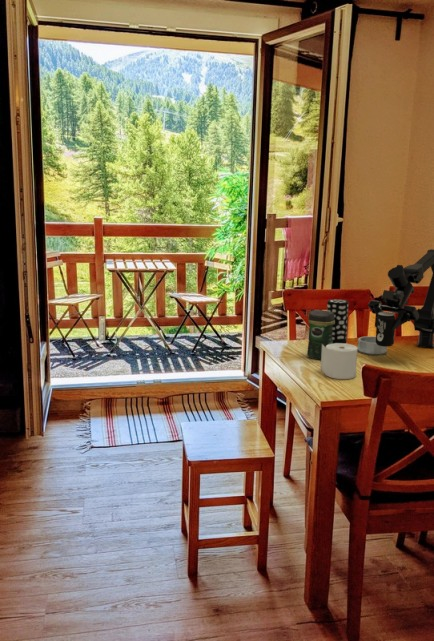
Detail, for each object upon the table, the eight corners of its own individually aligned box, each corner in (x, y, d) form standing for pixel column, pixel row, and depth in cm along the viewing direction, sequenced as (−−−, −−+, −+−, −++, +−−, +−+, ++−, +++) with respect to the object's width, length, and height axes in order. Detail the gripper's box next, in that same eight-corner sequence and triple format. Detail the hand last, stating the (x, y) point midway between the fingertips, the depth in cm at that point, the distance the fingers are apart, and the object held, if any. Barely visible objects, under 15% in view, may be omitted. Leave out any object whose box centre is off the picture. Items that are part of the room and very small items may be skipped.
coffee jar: (335, 357, 210) (338, 310, 206) (327, 362, 204) (329, 313, 200) (312, 353, 216) (314, 307, 212) (304, 357, 209) (305, 310, 205)
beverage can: (394, 347, 200) (396, 315, 197) (376, 346, 201) (378, 315, 198) (392, 342, 206) (394, 312, 203) (374, 342, 207) (376, 311, 205)
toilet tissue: (357, 380, 183) (359, 351, 181) (321, 378, 185) (322, 350, 183) (354, 370, 194) (356, 343, 191) (320, 369, 196) (321, 342, 193)
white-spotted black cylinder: (342, 353, 215) (344, 303, 211) (322, 350, 220) (324, 301, 215) (348, 348, 222) (351, 300, 218) (329, 345, 227) (331, 298, 222)
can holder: (359, 346, 226) (360, 335, 225) (388, 349, 221) (389, 338, 220) (354, 353, 215) (355, 341, 214) (384, 356, 211) (385, 344, 210)
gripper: (371, 279, 208) (354, 311, 203) (417, 284, 194) (399, 319, 190) (381, 296, 215) (364, 328, 210) (426, 303, 201) (409, 337, 196)
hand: (383, 328), depth 201 cm, fingers closed on beverage can, 6 cm apart
